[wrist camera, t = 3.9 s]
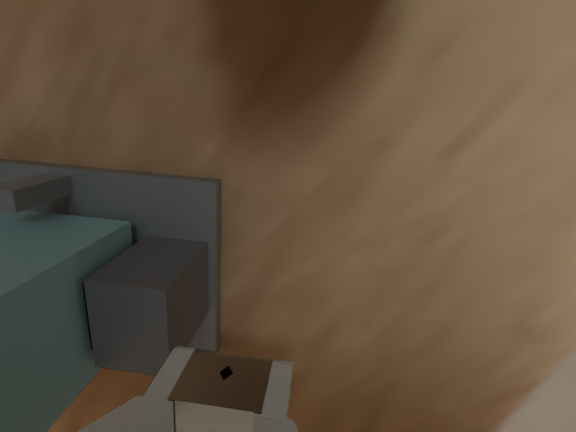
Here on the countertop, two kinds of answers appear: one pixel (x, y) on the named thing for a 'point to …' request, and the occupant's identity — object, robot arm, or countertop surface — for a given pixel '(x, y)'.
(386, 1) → the countertop surface
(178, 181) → the grey sliding rail fixture
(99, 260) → the sleeve
